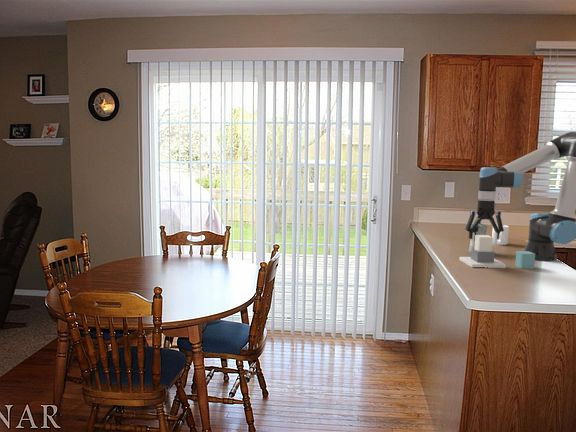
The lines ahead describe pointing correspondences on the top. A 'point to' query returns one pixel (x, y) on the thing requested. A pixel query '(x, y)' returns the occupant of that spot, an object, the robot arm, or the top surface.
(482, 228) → the coffee maker
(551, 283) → the top surface
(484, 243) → the cream block
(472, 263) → the tower base
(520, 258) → the teal block
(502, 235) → the mug
